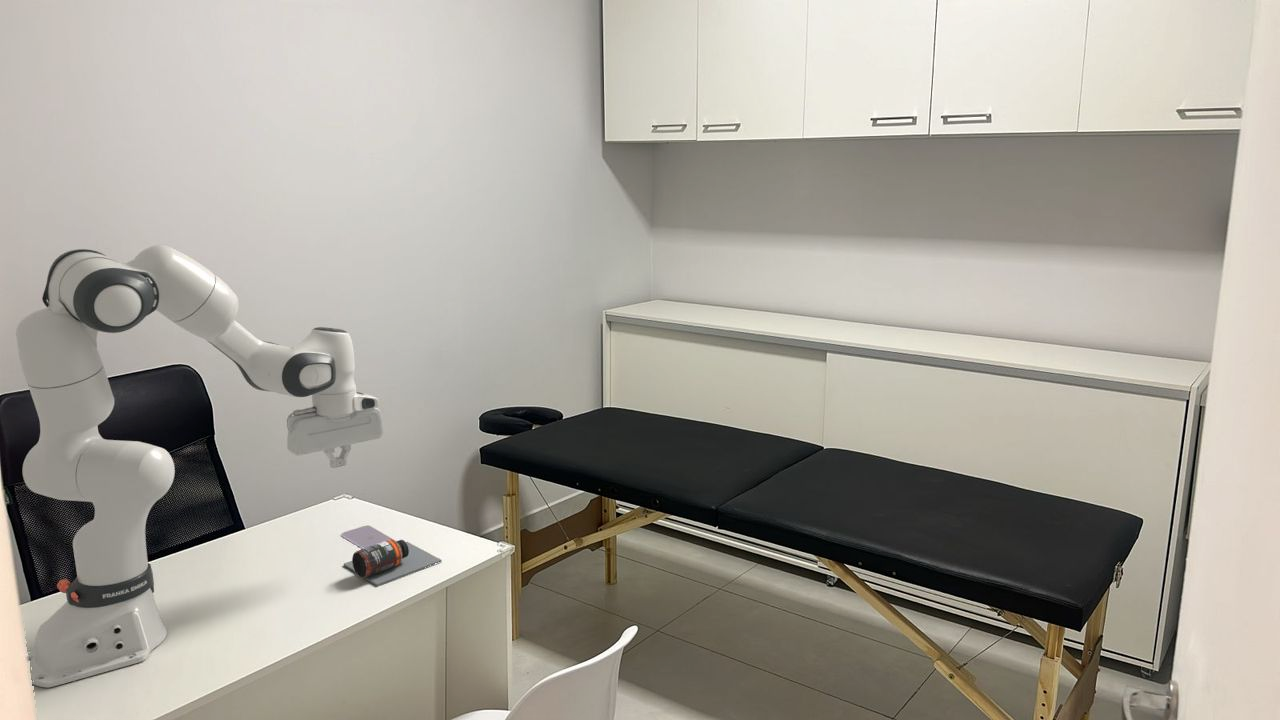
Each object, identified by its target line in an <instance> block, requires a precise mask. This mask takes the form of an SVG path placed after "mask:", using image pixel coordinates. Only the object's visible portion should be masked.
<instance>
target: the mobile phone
mask: <svg viewBox="0 0 1280 720" xmlns="http://www.w3.org/2000/svg"><path fill="white" fill-rule="evenodd" d="M341 537H342V538H344V539H345V540H347V541H349V542H350V543H352V544H353V545H355V546H357V547H358V546H359V547H358V548H360V550H361V549H364V548H367V547H370V546H372V545H375V544H378V543H381V542H383V541H386V540H390V539H391V540H394V541H397V540H395V539H394V538H392V537H390V536H388V535H387V534H386V533H383V532H382V531H379V530H378V529H376V528H374V527H373V526H371V525H364V526H360V527H357V528H353V529H350V530H347V531H344V532H342V533H341Z"/></svg>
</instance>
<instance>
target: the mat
mask: <svg viewBox="0 0 1280 720" xmlns="http://www.w3.org/2000/svg"><path fill="white" fill-rule="evenodd" d="M405 542H406V543H407V545H408V548H409V554H408V556H407V557H405V558H403V559H402V560H401V562H400V563H399V564H398V565H396V566H394V567H392V568H389V569H386V570H384V571H381V572H379V573H376V574H374V575H371V576H369V577H366V578H363V579H364V580H366V581H367V582H370V584H372V585H374V586H376V587H380V586H383V585H385V584H388V583H390V582H393V581H396V580H399V579H401V577H402V578H404V577H407V576H409V575H411V573H412V574H414V573H413V572H415V573H417V572H420V571H422V570H421V569H423V570H424V568H425V567H428V566H430V565H433V564H435V563H438V562H441V561H442V562H443V560H442V559H440V558H439V557H437V556H435V555H433V554H431V553H429V552H427V551H425V550H424V549H422V548H420V547H418V546H416V545H415V544H413V543H410V542H409V541H405ZM442 562H441V563H442ZM438 564H439V563H438ZM343 566H344V567H345V568H346V569H348V570H350V571H352V572H353V573H355V574H357V573H356V572H355V570H354V568H353V563H352V560H350V561H347V562H344V563H343ZM433 566H434V565H433ZM428 568H429V567H428ZM425 569H426V568H425ZM419 570H420V571H419ZM416 571H417V572H416ZM408 574H409V575H408ZM406 575H407V576H406ZM398 578H399V579H398Z"/></svg>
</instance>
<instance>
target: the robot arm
mask: <svg viewBox="0 0 1280 720" xmlns="http://www.w3.org/2000/svg"><path fill="white" fill-rule="evenodd" d="M41 299H42V302H43V304H44V306H45V307H46V308H43V309H39V310H36V311H34V312H32V313H30V314H28V315H26V316H25V317H24V318H23V319H22V320H21V321H20V322H19V323H18V325H17V327H16V333H15V334H16V344H17V352H18V356H19V361H20V365H21V368H22V369H21V370H22V373H23V376H24V378H25V379H24V380H25V382H26V385H27V386H28V390H29V391H30V394H31V398H32V401H33V403H34V404H33V405H34V407H35V410H36V412H37V413H36V414H37V416H38V420H39V429H40V431H39V432H40V433H39V439H38V442H37V443H36V444H35V445H34V446H33V447H32V448H31V449H30V450H29V451H28V453H27V454H26V456H25V458H24V461H23V464H22V477H23V481H24V483H25V486H26V487H27V488H28V489H29V490H30V491H31V492H33V493H34V494H38V495H41V496H45V497H47V498H52V499H55V500H59V501H70V502H72V501H75V502H89V503H92V505H93V508H94V517H93V519H92V520H90V521H88V522H87V523H85V524H84V525H82V526H81V528H80V529H78V531H77V532H76V534H75V535H74V537H73V539H72V549H73V556H74V562H75V569H76V570H75V571H76V575H77V576H76V578H75V579H74V580H73V581H72V582H71V581H70V580H68V579H67V578H64V579H60V580H59V581H58V583H57V584H56V587H57V589H58V590H59V591H60V593H62V594H65V595H66V597H65V598H66V602H65V603H64V604H63V605H61V606H60V607H59V608H58V609H57V610H56V611H55V612H54V613H53V614H52V615H51V616H50V617H48V619H46V620H45V621H44V622H43V623H42V624H41V625H39V628H38V629H37V632H36V635H35V642H34V649H32V650H31V651H28V652H27V653H28V655H29V660H30V673H31V680H32V683H31V684H32V685H34V686H36V687H40V688H41V687H42V688H53V687H56V686H57V687H58V686H60V685H64V684H67V683H70V682H75V681H78V680H81V679H85V678H89V677H92V676H96V675H99V674H102V673H106V672H109V671H113V670H117V669H120V668H124V667H127V666H131V665H135V664H137V663H138V664H139V663H141V662H143V661H145V660H147V659H148V657H149V656H150V654H151V652H152V651H153V650H154V649H155V648H157V647H158V646H160V644H162V642H163V641H164V640H165V639H166V637H167V634H168V630H167V628H166V627H165V624H164V622H163V621H162V618H161V616H160V614H159V613H160V612H159V610H158V607H157V603H156V600H155V594H154V593H155V587H154V586H155V580H154V574H153V569H152V565H151V563H149V560H148V551H147V541H146V539H147V538H146V524H147V519H148V515H149V513H150V511H151V509H152V508H153V506H154V505H155V504H156V502H157V501H159V500H160V499H162V498H163V497H164V496H165V495H166V494H167V493H168V491H169V489H171V486H172V485H173V482H174V480H175V473H176V470H175V463H174V460H173V458H172V456H171V454H170V453H169V451H167V449H165V448H163V447H160V446H157V445H153V444H151V443H147V442H142V441H137V440H135V441H134V440H118V439H116V440H114V439H105V438H103V437H102V435H101V434H100V432H99V427H98V426H99V425H100V424H101V423H103V422H104V421H106V419H108V417H110V415H111V413H112V411H113V410H114V406H115V397H114V395H113V391H112V388H111V385H110V381H109V378H108V375H107V372H106V370H105V367H104V363H103V361H102V358H101V355H100V351H99V350H98V343H97V337H98V334H99V333H98V332H102V333H107V334H111V333H112V334H117V333H123V332H126V331H129V330H131V329H133V328H134V327H136V326H137V325H138V324H140V323H141V322H142V321H144V319H145V318H146V317H148V316H150V314H152V313H154V312H155V311H157V312H158V313H159V314H161V315H162V316H164V317H165V318H166V319H168V320H170V321H171V322H172V323H174V324H176V325H177V326H178V327H180V328H182V329H184V330H185V331H187V332H189V333H190V334H193V335H194V336H196V337H198V338H199V337H200V338H201V339H203V340H205V341H207V342H208V343H209V344H211V346H213V347H214V348H215V349H217V350H218V351H220V352H221V353H222V354H223V355H225V356H226V357H227V358H228V359H230V360H231V361H232V362H233V363H234V364H235V366H237V368H238V369H239V371H240V373H241V374H242V377H243V378H244V380H245V381H246V382H247V383H248V385H250V386H251V387H252V388H254V389H256V390H259V391H265V392H270V393H271V392H272V393H276V394H279V395H283V396H284V395H285V396H289V397H294V398H306V397H309V396H311V401H312V403H311V404H312V406H311V407H310V406H309V407H307V408H304V409H302V408H301V409H296V410H293V412H291V413H290V414H289V415H288V417H287V418H286V427H287V428H286V429H287V441H286V442H287V443H286V445H287V450H288V451H289V452H290V453H291V454H293V455H295V456H297V457H298V456H304V455H308V454H313V453H316V452H317V453H318V452H322V451H323V453H324V454H325V455H326V457H327V458H328V460H329V466H330V468H332V469H335V468H340V467H345V466H347V464H348V463H347V458H348V456H349V454H350V452H351V450H352V447H351V446H352V445H355V444H360V443H363V442H364V443H365V442H369V441H373V440H376V439H377V440H378V439H380V438H381V437H382V436H383V435H384V422H383V415H382V412H381V410H380V409H379V405H380V400H379V398H378V397H375V396H374V395H370V394H367V393H363V392H359V391H357V385H356V382H355V378H354V376H355V375H354V374H355V370H356V362H355V361H356V359H355V351H354V350H355V349H354V344H353V340H352V337H351V334H350V333H349V332H348V331H346V330H344V329H340V328H333V327H322V326H319V327H314V328H312V329H311V332H310V333H309V334H308V335H307V336H306V337H305V338H304V339H303V340H301V341H300V342H299V343H297V344H295V345H293V346H287V345H286V346H285V345H282V344H278V343H274V342H271V341H266V340H261V339H259V338H257V337H256V336H254V335H253V334H252V333H251V332H250V331H249V330H247V329H246V328H245V327H244V326H243V325H241V324H240V323H239V322H237V321H236V318H237V317H238V314H239V309H240V302H239V297H238V295H236V293H235V292H234V291H233V290H232V288H231V287H230V286H229V285H228V284H227V283H226V282H225V281H224V280H223V279H221V278H220V277H219V276H218V275H216V274H215V273H214V272H212V271H211V270H210V269H208V268H207V267H206V266H205V265H203V264H202V263H200V262H198V261H197V260H196V259H194V258H192V257H190V256H189V255H187V254H185V253H183V252H181V251H179V250H177V249H175V248H173V247H171V246H169V245H166V244H155V245H151V246H149V247H146V248H144V249H143V250H142V251H140V252H139V253H138V254H137V255H136V256H135V257H134V259H131V260H130V261H128V262H118V261H116V260H115V259H113V258H111V257H109V256H107V255H105V254H104V253H102V252H99V251H97V250H94V249H93V250H92V249H85V248H83V249H82V248H81V249H73V250H69V251H66V252H64V253H62V254H60V255H59V256H57V257H56V259H54V261H53V262H52V264H50V268H49V270H48V274H47V280H46V284H45V287H44V291H43V294H42V298H41ZM336 448H339V449H341V452H340V454H339V456H337V457H335V456H334V453H335V449H336ZM29 652H30V653H29ZM31 667H32V670H31ZM33 681H34V682H33Z"/></svg>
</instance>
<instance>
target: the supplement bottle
mask: <svg viewBox="0 0 1280 720" xmlns="http://www.w3.org/2000/svg"><path fill="white" fill-rule="evenodd" d="M394 540H395V539H394ZM394 540H391V539H390V540H386V541H383V542H381V543H378V544H375V545H372V546H370V547H367V548H364V549H361V548H360V549H359V550H356V551H355V552H354V553H353V555H352V559H351V561H352V563H353V568H354V570H355V572H356V573H357V576H358V577H360V578H362V579H364V578H366V577H369V576H371V575H374V574H376V573H379V572H381V571H384V570H386V569H389V568H392V567H394V566H396V565H398V564H399V563H400V562H401V560H402V559H403V558H405V557H407V556H408V554H409V548H408V545H407V543H406V542H407V541H405V540H404V539H400V540H396V541H394ZM355 572H354V573H355ZM356 573H355V574H356Z"/></svg>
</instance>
